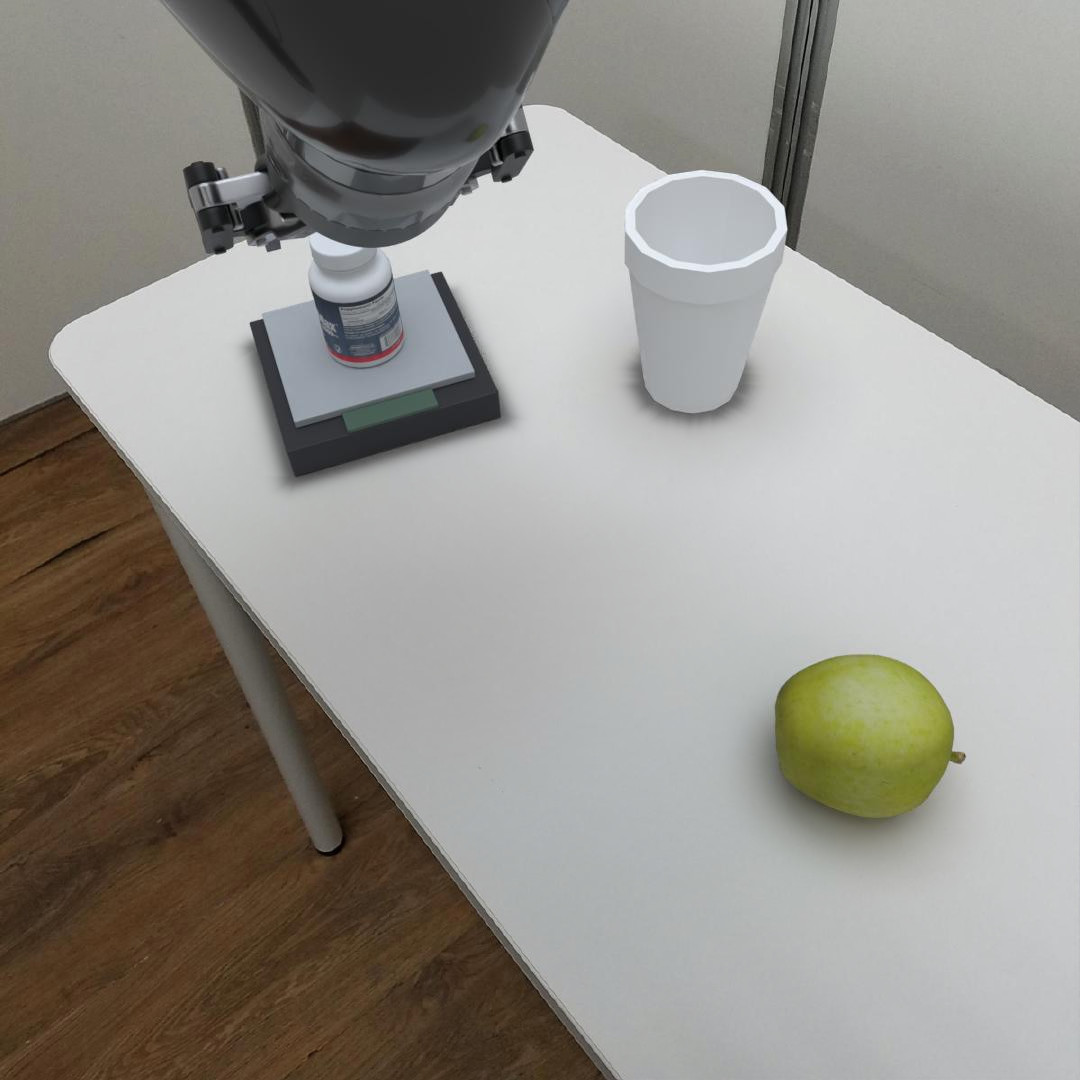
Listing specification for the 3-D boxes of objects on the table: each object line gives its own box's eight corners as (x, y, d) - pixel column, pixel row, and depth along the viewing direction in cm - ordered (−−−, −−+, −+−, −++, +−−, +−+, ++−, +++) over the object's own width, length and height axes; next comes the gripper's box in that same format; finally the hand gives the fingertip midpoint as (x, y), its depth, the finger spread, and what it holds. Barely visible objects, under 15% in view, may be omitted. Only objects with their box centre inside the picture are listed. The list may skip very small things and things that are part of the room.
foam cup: (606, 416, 73) (606, 258, 62) (636, 323, 78) (642, 162, 67) (750, 441, 71) (775, 282, 60) (771, 343, 76) (798, 181, 66)
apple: (950, 852, 54) (996, 783, 48) (762, 833, 55) (783, 763, 49) (936, 711, 59) (976, 631, 52) (763, 696, 60) (782, 615, 53)
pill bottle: (320, 326, 75) (290, 217, 68) (394, 307, 76) (373, 198, 68) (336, 378, 72) (306, 270, 65) (413, 358, 72) (393, 249, 65)
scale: (295, 477, 71) (284, 446, 68) (257, 347, 78) (246, 315, 76) (501, 417, 73) (498, 385, 71) (445, 296, 81) (440, 263, 78)
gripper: (540, -40, 38) (472, 96, 54) (127, 49, 36) (182, 164, 51) (596, 177, 39) (513, 248, 55) (200, 277, 37) (232, 322, 53)
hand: (353, 207), depth 53 cm, fingers open, 8 cm apart
